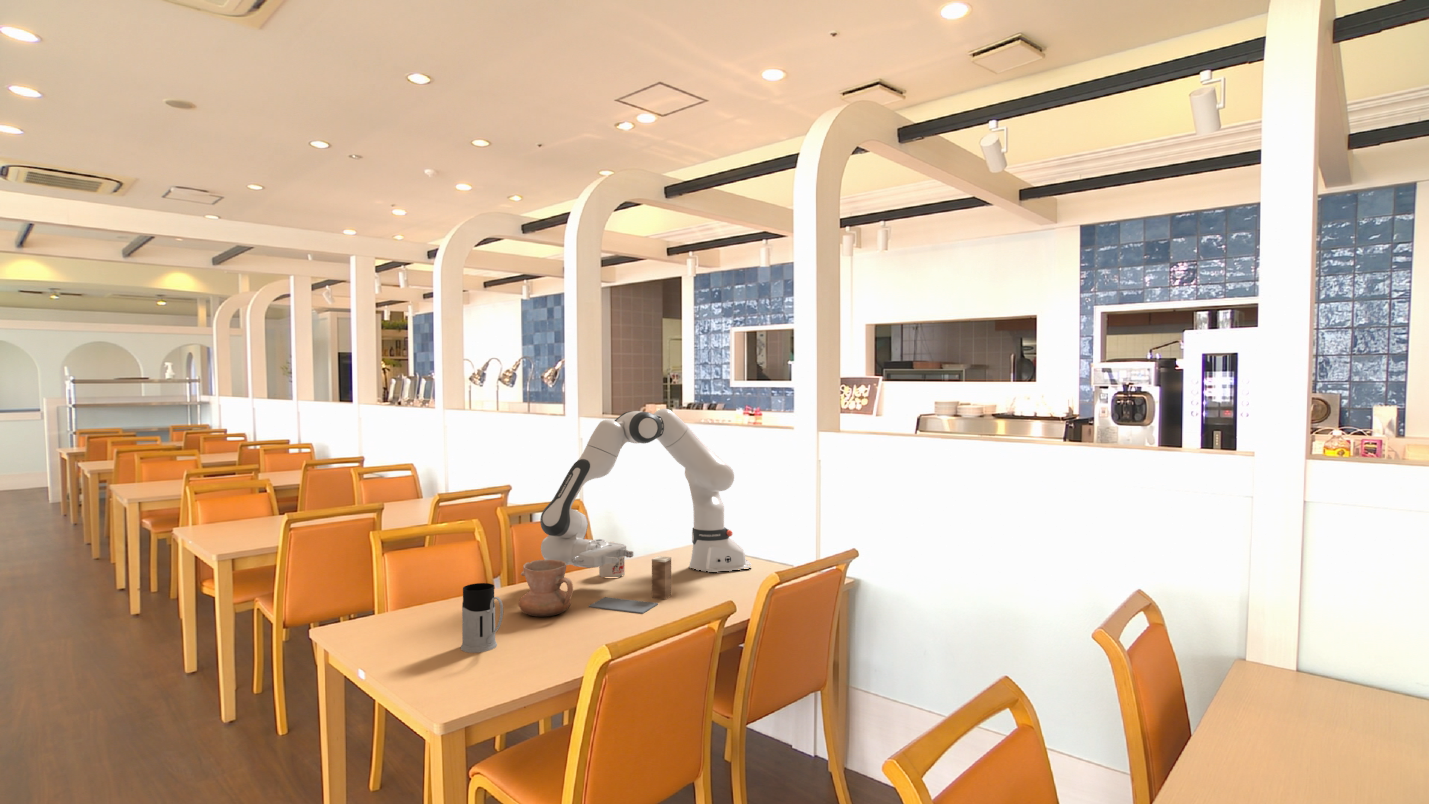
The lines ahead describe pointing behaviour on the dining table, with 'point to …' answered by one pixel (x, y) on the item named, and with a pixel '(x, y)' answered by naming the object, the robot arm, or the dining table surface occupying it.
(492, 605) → the glass holder
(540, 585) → the ceramic jug
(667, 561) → the walnut block
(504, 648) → the dining table surface
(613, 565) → the teacup with lid
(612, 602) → the rubber mat
